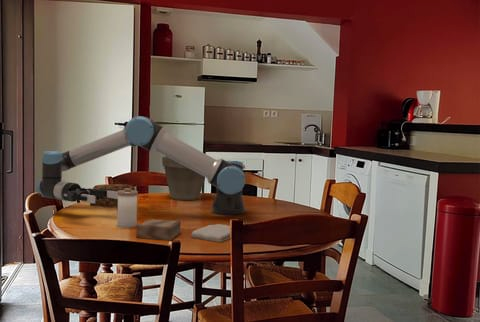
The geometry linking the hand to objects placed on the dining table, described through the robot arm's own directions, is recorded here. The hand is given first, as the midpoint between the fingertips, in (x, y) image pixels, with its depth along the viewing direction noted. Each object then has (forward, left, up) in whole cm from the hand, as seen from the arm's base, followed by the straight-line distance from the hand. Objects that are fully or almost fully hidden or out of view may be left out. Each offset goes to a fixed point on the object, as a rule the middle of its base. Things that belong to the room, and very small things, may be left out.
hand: (107, 197), depth 182 cm
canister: (-9, +3, -10) cm, 14 cm away
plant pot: (-13, -68, -10) cm, 70 cm away
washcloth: (-45, +8, -10) cm, 47 cm away
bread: (+13, -36, -10) cm, 39 cm away
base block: (-25, +14, -9) cm, 30 cm away
